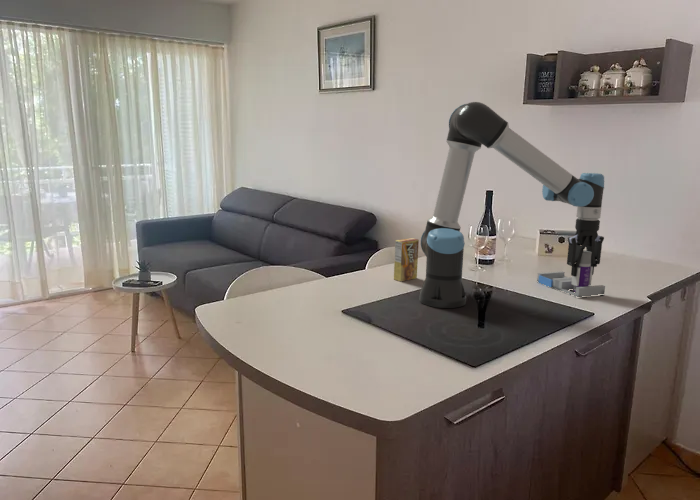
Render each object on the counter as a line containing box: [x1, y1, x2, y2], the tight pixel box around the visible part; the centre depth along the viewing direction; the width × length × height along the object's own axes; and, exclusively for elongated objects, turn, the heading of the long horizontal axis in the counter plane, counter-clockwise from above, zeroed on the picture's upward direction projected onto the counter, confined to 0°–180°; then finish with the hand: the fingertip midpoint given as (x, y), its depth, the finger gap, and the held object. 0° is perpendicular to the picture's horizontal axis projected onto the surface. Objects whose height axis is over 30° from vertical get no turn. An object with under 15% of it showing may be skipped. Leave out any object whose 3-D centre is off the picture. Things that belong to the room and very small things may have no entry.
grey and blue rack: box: [536, 270, 606, 297], centre depth 193 cm, size 12×22×4 cm, turn 18°
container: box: [572, 249, 592, 292], centre depth 186 cm, size 5×5×15 cm
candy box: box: [393, 237, 420, 282], centre depth 202 cm, size 9×4×15 cm, turn 129°
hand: (581, 284), depth 187 cm, fingers closed on container, 5 cm apart
